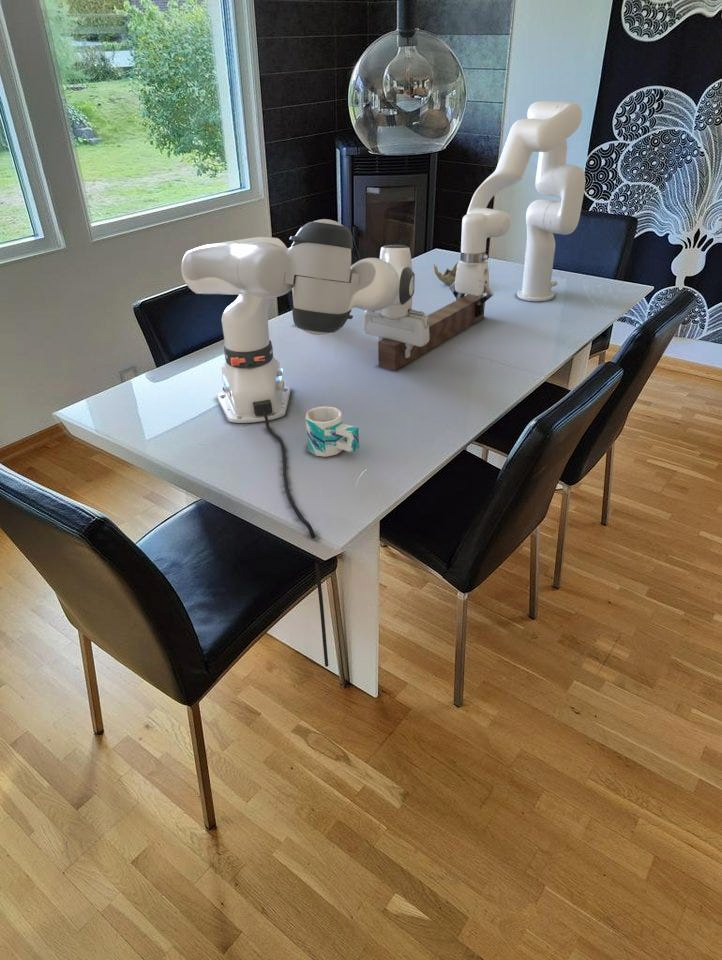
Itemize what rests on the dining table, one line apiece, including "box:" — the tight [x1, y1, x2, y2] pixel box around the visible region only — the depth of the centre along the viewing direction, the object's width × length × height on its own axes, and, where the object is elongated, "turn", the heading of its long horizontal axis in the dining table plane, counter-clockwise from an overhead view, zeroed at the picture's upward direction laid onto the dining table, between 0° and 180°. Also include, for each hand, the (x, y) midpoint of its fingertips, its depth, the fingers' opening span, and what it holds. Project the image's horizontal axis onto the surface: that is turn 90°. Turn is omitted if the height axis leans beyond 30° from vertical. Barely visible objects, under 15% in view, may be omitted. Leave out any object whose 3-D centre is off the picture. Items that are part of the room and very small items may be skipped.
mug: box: [305, 405, 360, 458], centre depth 147 cm, size 8×12×8 cm
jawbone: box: [433, 260, 459, 286], centre depth 246 cm, size 9×15×10 cm
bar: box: [377, 294, 486, 371], centre depth 201 cm, size 50×6×7 cm, turn 142°
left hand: (395, 354), depth 188 cm, fingers closed on bar, 5 cm apart
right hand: (469, 313), depth 215 cm, fingers closed on bar, 5 cm apart
